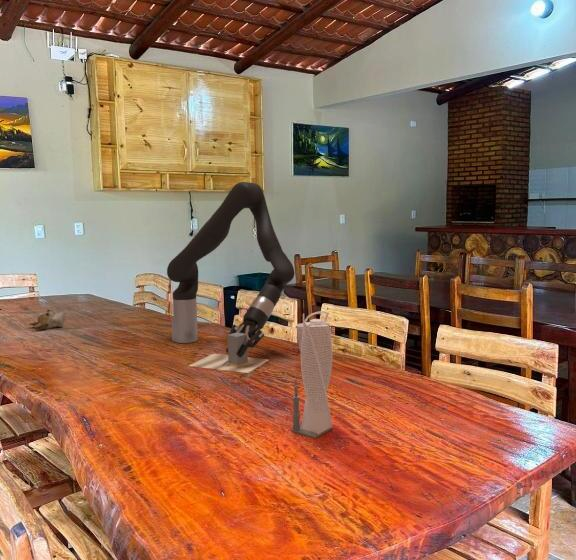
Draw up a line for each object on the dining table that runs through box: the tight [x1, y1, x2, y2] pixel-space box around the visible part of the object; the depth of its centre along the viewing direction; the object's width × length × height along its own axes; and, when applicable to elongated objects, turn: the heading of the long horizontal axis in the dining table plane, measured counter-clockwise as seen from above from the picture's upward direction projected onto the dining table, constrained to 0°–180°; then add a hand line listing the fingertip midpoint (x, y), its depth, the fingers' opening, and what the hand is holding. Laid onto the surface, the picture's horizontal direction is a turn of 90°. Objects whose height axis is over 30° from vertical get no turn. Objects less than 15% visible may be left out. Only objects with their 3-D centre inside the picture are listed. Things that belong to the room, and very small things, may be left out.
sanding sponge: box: [227, 332, 249, 367], centre depth 176 cm, size 4×4×10 cm
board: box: [188, 353, 270, 379], centre depth 179 cm, size 22×16×2 cm
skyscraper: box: [290, 310, 333, 439], centre depth 126 cm, size 8×8×28 cm
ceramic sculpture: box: [29, 309, 66, 330], centre depth 242 cm, size 11×9×15 cm
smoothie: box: [295, 313, 305, 353], centre depth 198 cm, size 6×6×14 cm
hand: (233, 354), depth 175 cm, fingers closed on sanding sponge, 4 cm apart
